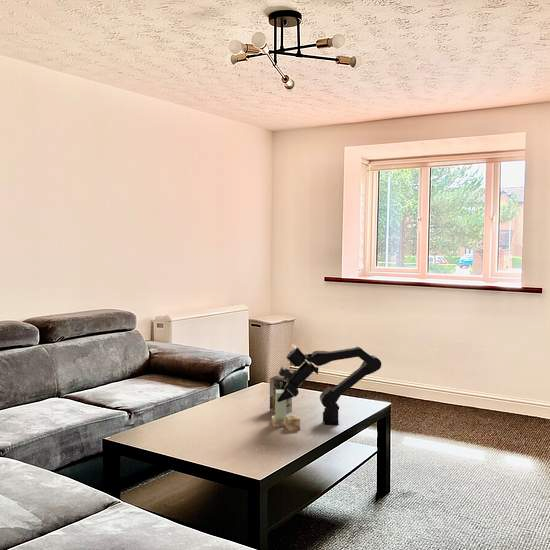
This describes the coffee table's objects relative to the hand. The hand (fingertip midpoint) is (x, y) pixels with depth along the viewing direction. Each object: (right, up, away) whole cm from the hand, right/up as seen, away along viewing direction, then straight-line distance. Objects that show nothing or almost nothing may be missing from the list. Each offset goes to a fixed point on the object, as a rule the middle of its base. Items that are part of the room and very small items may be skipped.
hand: (277, 398), depth 263 cm
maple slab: (+1, -12, +1) cm, 12 cm away
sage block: (+1, -8, +1) cm, 9 cm away
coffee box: (+2, -10, +20) cm, 23 cm away
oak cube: (+7, -12, -6) cm, 15 cm away
